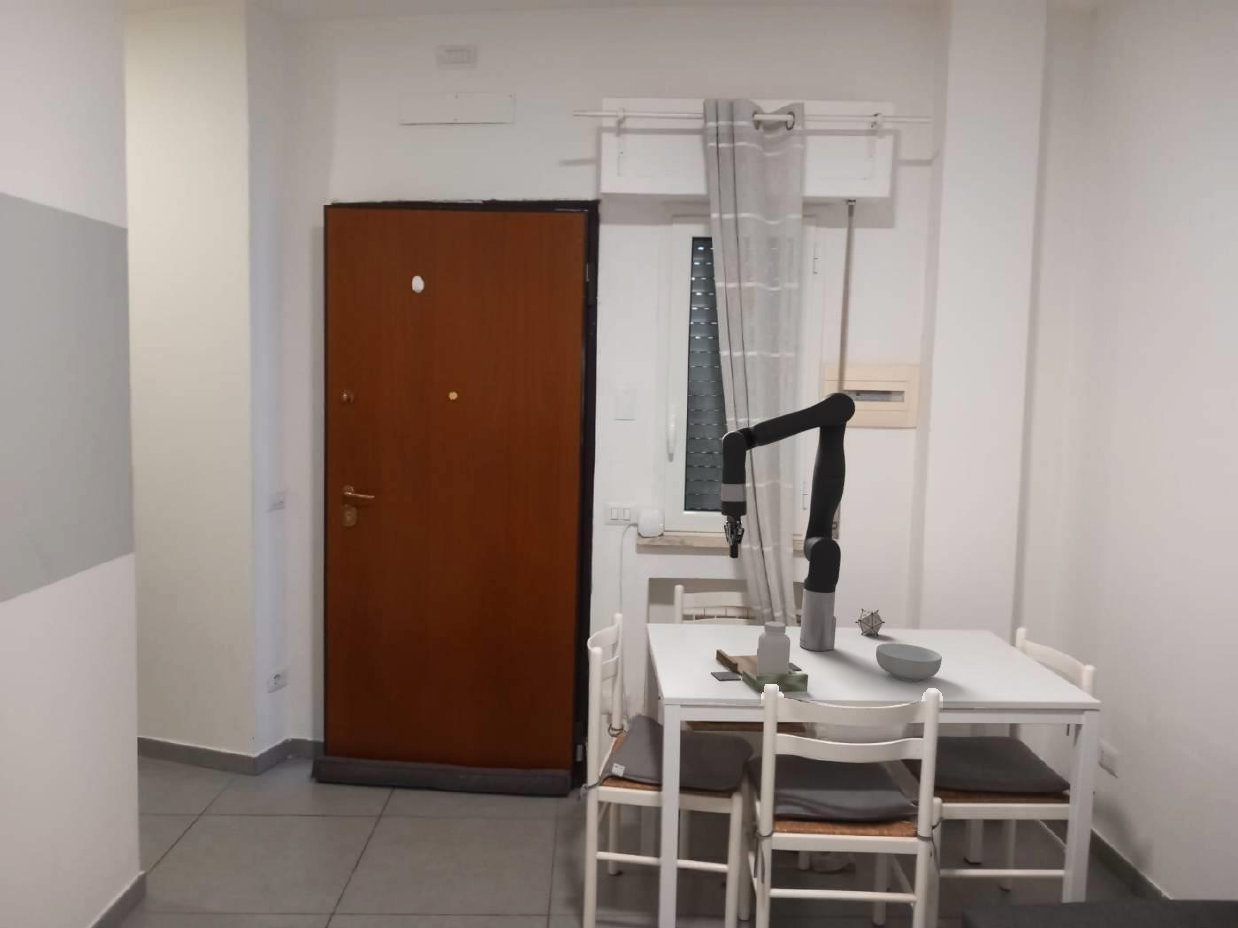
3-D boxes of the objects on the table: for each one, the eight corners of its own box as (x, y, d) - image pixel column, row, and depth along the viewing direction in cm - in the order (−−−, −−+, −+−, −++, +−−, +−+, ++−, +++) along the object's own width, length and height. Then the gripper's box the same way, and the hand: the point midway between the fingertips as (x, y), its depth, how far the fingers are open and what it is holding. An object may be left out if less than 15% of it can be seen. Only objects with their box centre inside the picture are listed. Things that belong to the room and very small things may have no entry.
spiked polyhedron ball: (871, 644, 280) (887, 619, 282) (876, 642, 272) (893, 616, 274) (846, 628, 282) (863, 603, 284) (851, 625, 274) (868, 599, 276)
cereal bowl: (933, 691, 224) (935, 664, 223) (867, 678, 232) (869, 652, 231) (944, 675, 239) (946, 649, 238) (882, 663, 247) (884, 639, 246)
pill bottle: (756, 675, 227) (759, 618, 226) (787, 678, 226) (791, 621, 225) (755, 684, 220) (759, 626, 219) (788, 688, 218) (792, 629, 217)
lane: (781, 656, 248) (782, 642, 248) (829, 689, 221) (831, 674, 221) (694, 658, 241) (695, 644, 241) (733, 693, 214) (734, 677, 214)
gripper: (753, 500, 252) (753, 560, 253) (739, 497, 265) (739, 554, 266) (728, 501, 251) (728, 561, 251) (715, 497, 264) (715, 555, 264)
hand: (733, 557), depth 259 cm, fingers closed
